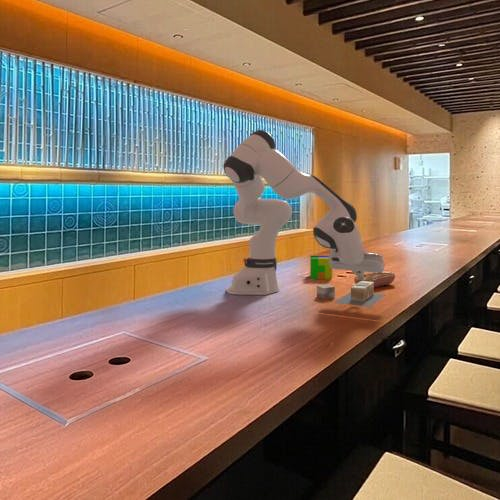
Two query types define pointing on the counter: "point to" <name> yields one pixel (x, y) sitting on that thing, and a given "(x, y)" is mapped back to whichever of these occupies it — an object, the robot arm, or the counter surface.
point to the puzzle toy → (320, 267)
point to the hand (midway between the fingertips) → (360, 274)
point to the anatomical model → (376, 278)
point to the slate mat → (367, 302)
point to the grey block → (325, 291)
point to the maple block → (362, 291)
